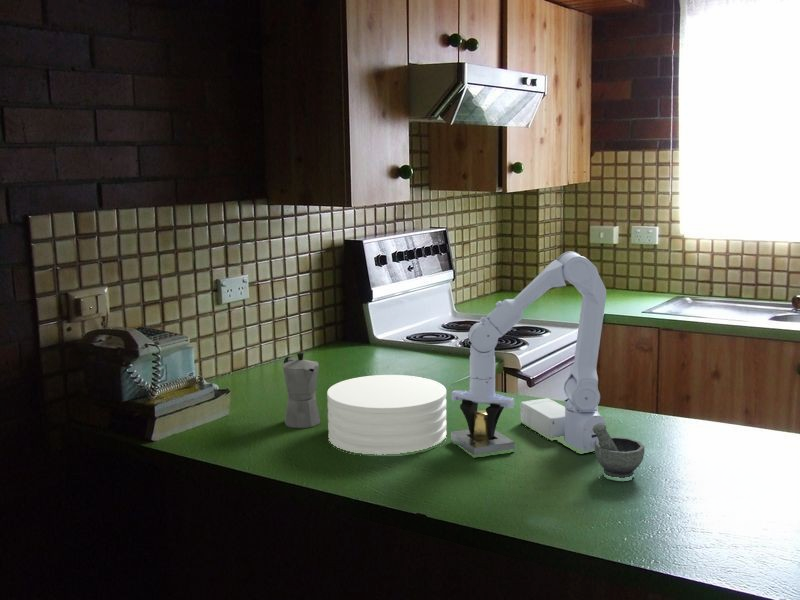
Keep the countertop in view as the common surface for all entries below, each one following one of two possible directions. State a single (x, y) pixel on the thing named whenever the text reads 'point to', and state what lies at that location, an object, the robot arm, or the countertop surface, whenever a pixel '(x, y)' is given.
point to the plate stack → (386, 414)
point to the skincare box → (544, 416)
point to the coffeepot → (301, 392)
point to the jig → (481, 442)
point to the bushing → (480, 426)
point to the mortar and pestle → (617, 453)
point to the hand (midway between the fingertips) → (482, 434)
